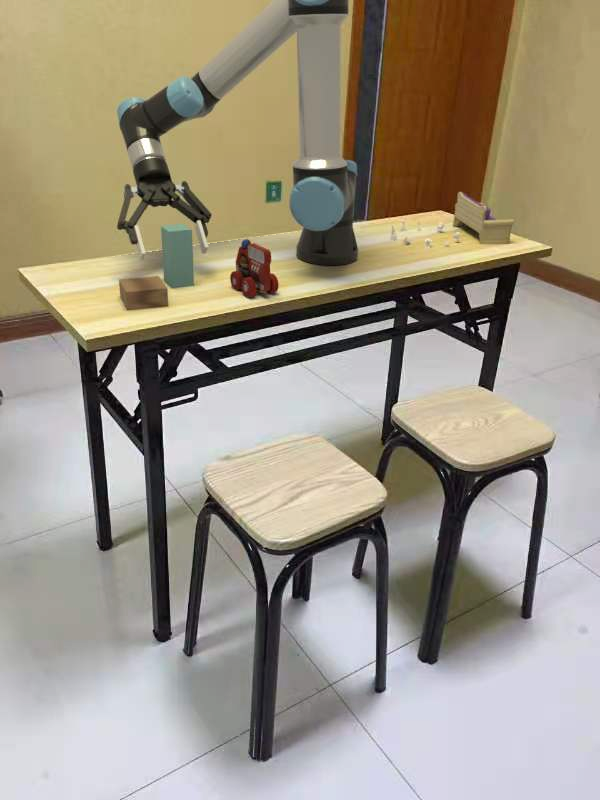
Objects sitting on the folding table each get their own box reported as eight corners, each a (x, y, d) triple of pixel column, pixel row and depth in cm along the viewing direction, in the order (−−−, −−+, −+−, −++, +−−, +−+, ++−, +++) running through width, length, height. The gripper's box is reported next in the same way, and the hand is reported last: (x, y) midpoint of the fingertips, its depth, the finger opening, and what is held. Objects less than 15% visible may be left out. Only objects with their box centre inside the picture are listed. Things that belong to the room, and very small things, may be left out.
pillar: (186, 278, 150) (183, 223, 144) (194, 285, 146) (191, 229, 141) (164, 281, 148) (160, 225, 142) (171, 288, 144) (168, 231, 138)
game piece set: (424, 227, 200) (426, 214, 198) (475, 244, 186) (477, 230, 184) (373, 235, 190) (374, 221, 189) (422, 253, 176) (423, 238, 174)
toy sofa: (510, 245, 186) (517, 207, 181) (480, 245, 184) (487, 207, 179) (478, 225, 204) (484, 190, 199) (451, 226, 202) (456, 190, 197)
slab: (159, 294, 141) (158, 275, 140) (168, 307, 135) (167, 288, 133) (120, 298, 139) (118, 279, 137) (127, 311, 132) (125, 292, 130)
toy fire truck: (253, 280, 151) (253, 233, 146) (282, 297, 142) (284, 247, 137) (225, 284, 148) (224, 236, 143) (253, 302, 139) (253, 252, 134)
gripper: (200, 174, 157) (225, 256, 152) (89, 179, 146) (113, 268, 142) (208, 153, 150) (234, 239, 146) (92, 157, 140) (117, 250, 135)
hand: (174, 253), depth 144 cm, fingers open, 13 cm apart
